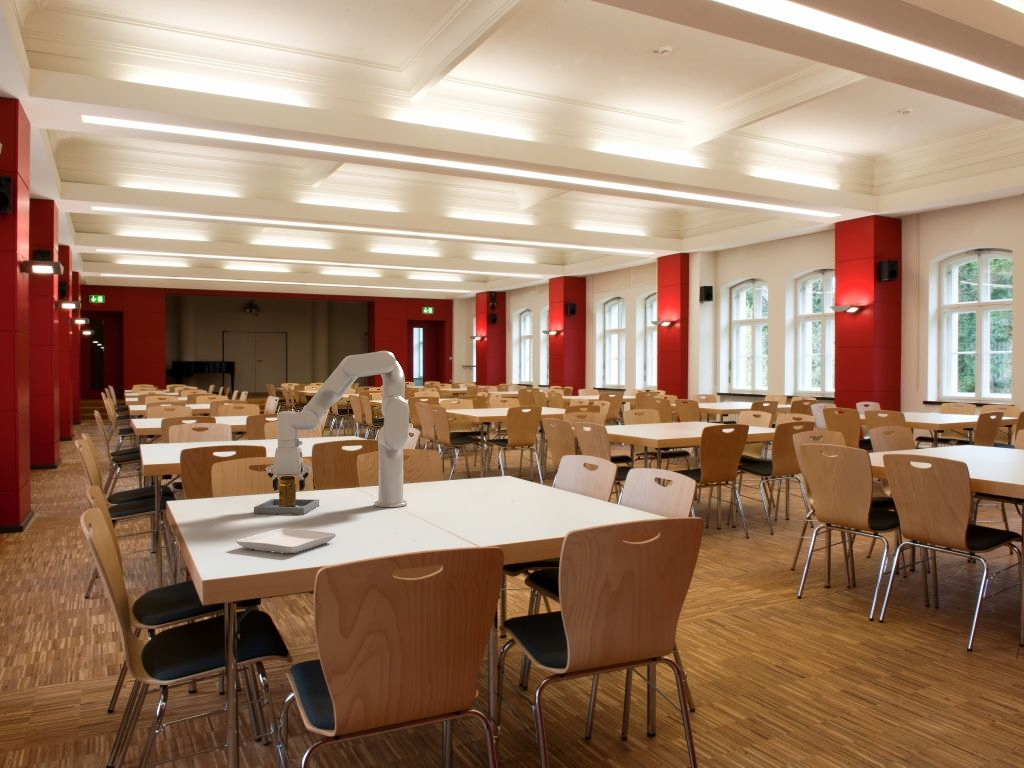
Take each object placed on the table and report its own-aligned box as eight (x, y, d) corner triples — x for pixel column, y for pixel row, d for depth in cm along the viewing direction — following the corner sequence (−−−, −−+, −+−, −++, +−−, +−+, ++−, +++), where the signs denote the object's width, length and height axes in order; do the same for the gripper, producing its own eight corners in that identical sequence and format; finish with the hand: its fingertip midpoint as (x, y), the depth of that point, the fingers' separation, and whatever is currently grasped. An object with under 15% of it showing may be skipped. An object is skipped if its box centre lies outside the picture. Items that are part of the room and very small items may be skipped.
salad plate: (281, 537, 242) (281, 526, 242) (338, 543, 234) (338, 532, 234) (233, 551, 222) (233, 539, 222) (293, 559, 214) (293, 546, 214)
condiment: (275, 508, 287) (275, 476, 287) (296, 505, 293) (296, 474, 292) (283, 511, 282) (283, 478, 281) (304, 508, 287) (304, 476, 287)
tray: (272, 505, 296) (272, 498, 296) (319, 506, 296) (319, 499, 296) (253, 514, 278) (253, 507, 278) (303, 514, 277) (303, 508, 277)
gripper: (314, 443, 290) (314, 488, 290) (269, 443, 291) (269, 488, 291) (307, 445, 282) (308, 491, 283) (261, 445, 283) (262, 491, 284)
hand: (288, 490), depth 287 cm, fingers open, 9 cm apart
